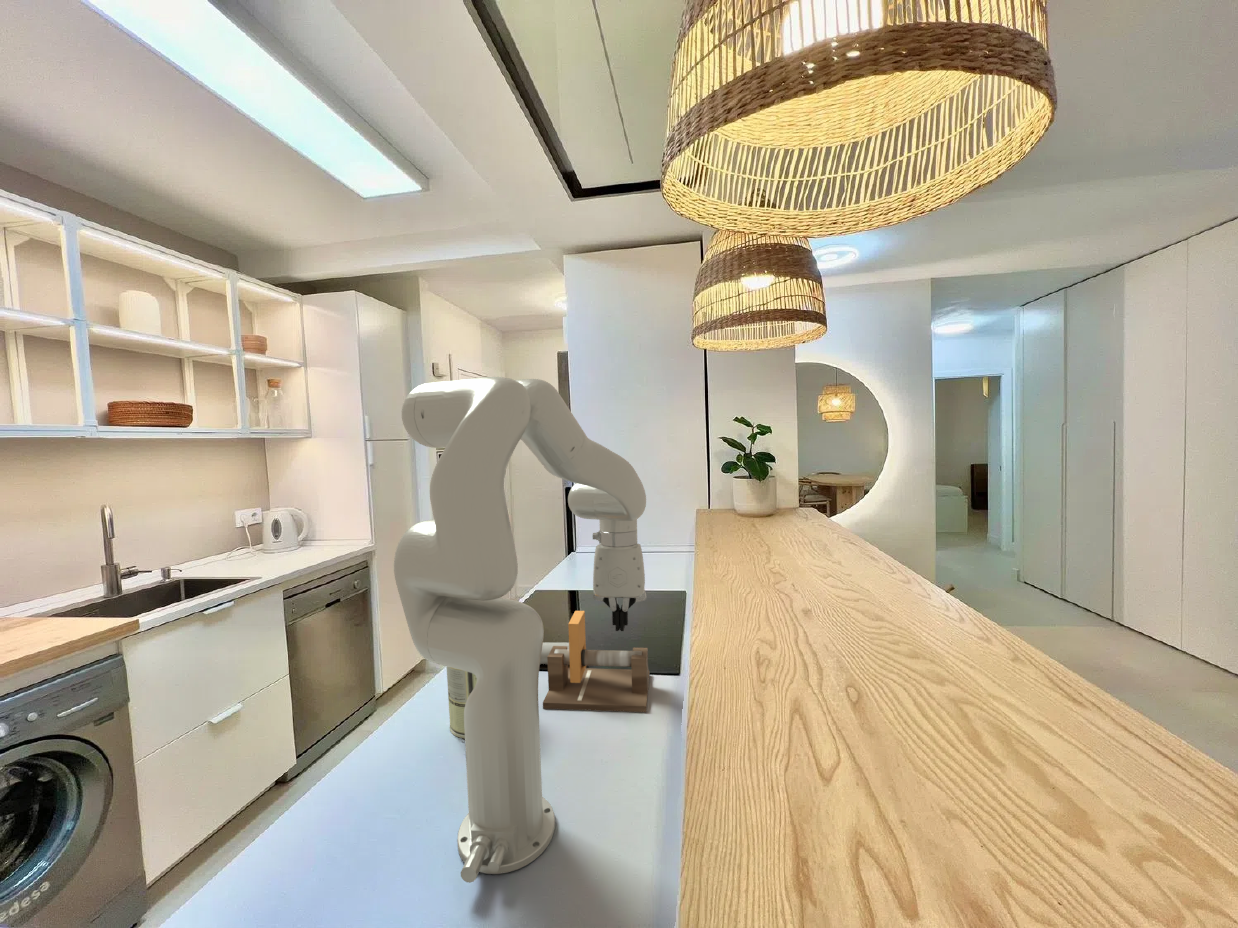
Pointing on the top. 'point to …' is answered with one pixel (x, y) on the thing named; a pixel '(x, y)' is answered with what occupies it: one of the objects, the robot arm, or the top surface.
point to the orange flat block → (576, 645)
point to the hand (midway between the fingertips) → (620, 628)
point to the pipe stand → (599, 681)
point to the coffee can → (458, 697)
